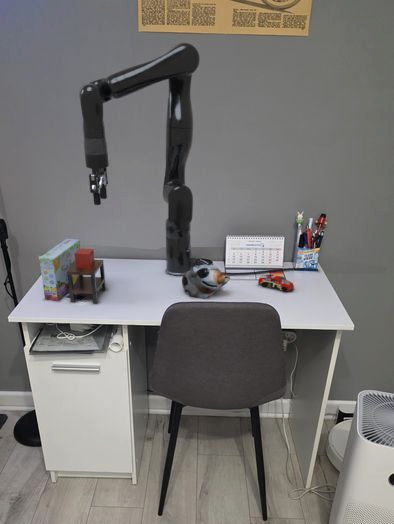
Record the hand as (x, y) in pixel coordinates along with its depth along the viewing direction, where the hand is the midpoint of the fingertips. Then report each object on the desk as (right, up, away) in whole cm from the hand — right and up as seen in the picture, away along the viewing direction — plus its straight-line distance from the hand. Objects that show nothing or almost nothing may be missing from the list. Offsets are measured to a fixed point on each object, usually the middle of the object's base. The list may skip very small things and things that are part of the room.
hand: (100, 201), depth 170 cm
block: (-4, -23, -6) cm, 25 cm away
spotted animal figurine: (+37, -32, +2) cm, 48 cm away
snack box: (-13, -30, +4) cm, 33 cm away
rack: (-4, -33, -1) cm, 33 cm away
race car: (+62, -29, +7) cm, 69 cm away
